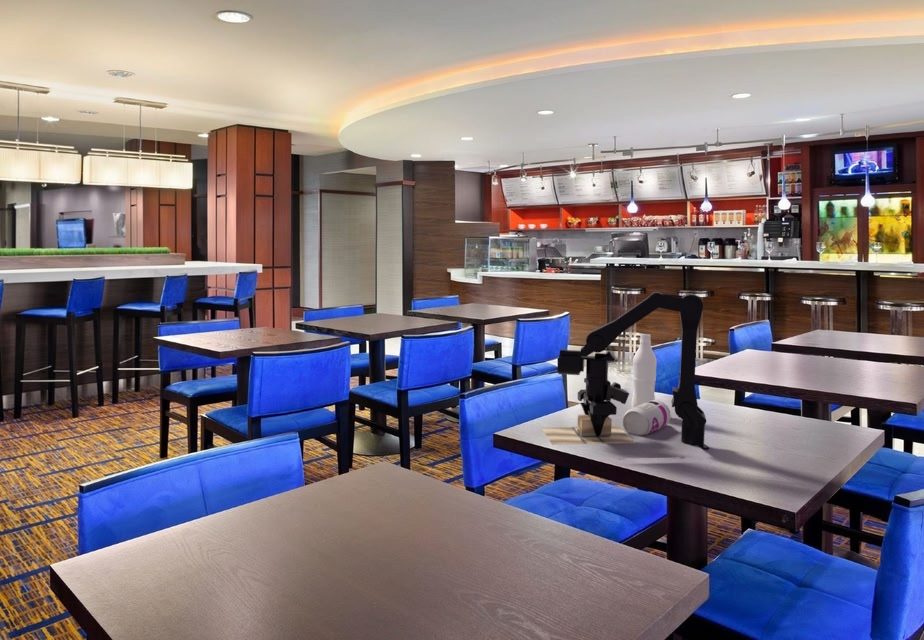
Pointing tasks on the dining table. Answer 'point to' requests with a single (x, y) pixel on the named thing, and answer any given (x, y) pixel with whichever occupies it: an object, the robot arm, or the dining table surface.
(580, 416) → the block
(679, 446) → the dining table surface
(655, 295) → the robot arm
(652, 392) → the water bottle
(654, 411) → the supplement can
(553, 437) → the board
